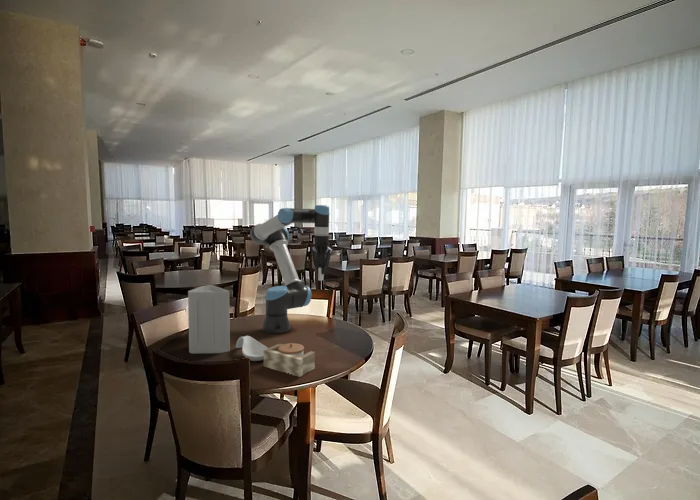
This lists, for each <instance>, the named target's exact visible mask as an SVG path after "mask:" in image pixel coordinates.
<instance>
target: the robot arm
mask: <svg viewBox="0 0 700 500" xmlns="http://www.w3.org/2000/svg"><path fill="white" fill-rule="evenodd" d="M277 212H278V213H277V215H275V216H273V217H271V218H269V219H267V220H266V221H265V222H263V223H257V224H255V225H254V226H253V227H252V228H251V229H250V231H249V232H250V233H249V234H250V238H251V240H252V241H253V242H254V243H255V244H258V245H263V246H264V245H265V246H268V248H269V250H271V251H272V252H273V254H274V257H275V260H276V263H277V265H278V269H279V271H280V274H281V277H282V280H283V282H284V285H277V286H272V287H269V288H268V289H267V290H265V291H266V292H265V317H264V321H263V324H262V329H261V330H262V331H263V332H264V333H267V334H274V335H275V334H283V333H288V332H290V331H291V324H290V320H289V317H288V310H290V309H291V310H292V309H298V308H302V307H305V306H309V304H310V303H311V301H312V290H311V288H310V286H308V285H305V284H304V281H303V280H301V279H300V278H299V276H298V272H297V270H296V267H295V265H294V262H293V259H292V256H291V253H290V251H289V249H288V244H289V241H290V232H289V230H288V229H287V226H289V225H291V224H314V228H313V229H314V231H313V232H314V233H313V234H314V236H313V237H314V238H313V239H314V240H313V242H314V245H313V247H310V249H309V250H310V253H311V256H312V261H313V266H314V267H316V270H317V271H316V272H317V277H318V279H317V280H318V281H320V282H321V281H324V277H325V274H326V268H327V267H329V266H330V260H331V256H332V253H333V251H334V249H332V248H331V247H330V245H329V242H330V236H329V234H330V206H329V205H327V204H318V205H317V204H315V206H314V208H293V207H292V208H291V207H290V208H289V207H283V208H280V209H279V210H278V211H277Z"/></svg>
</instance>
